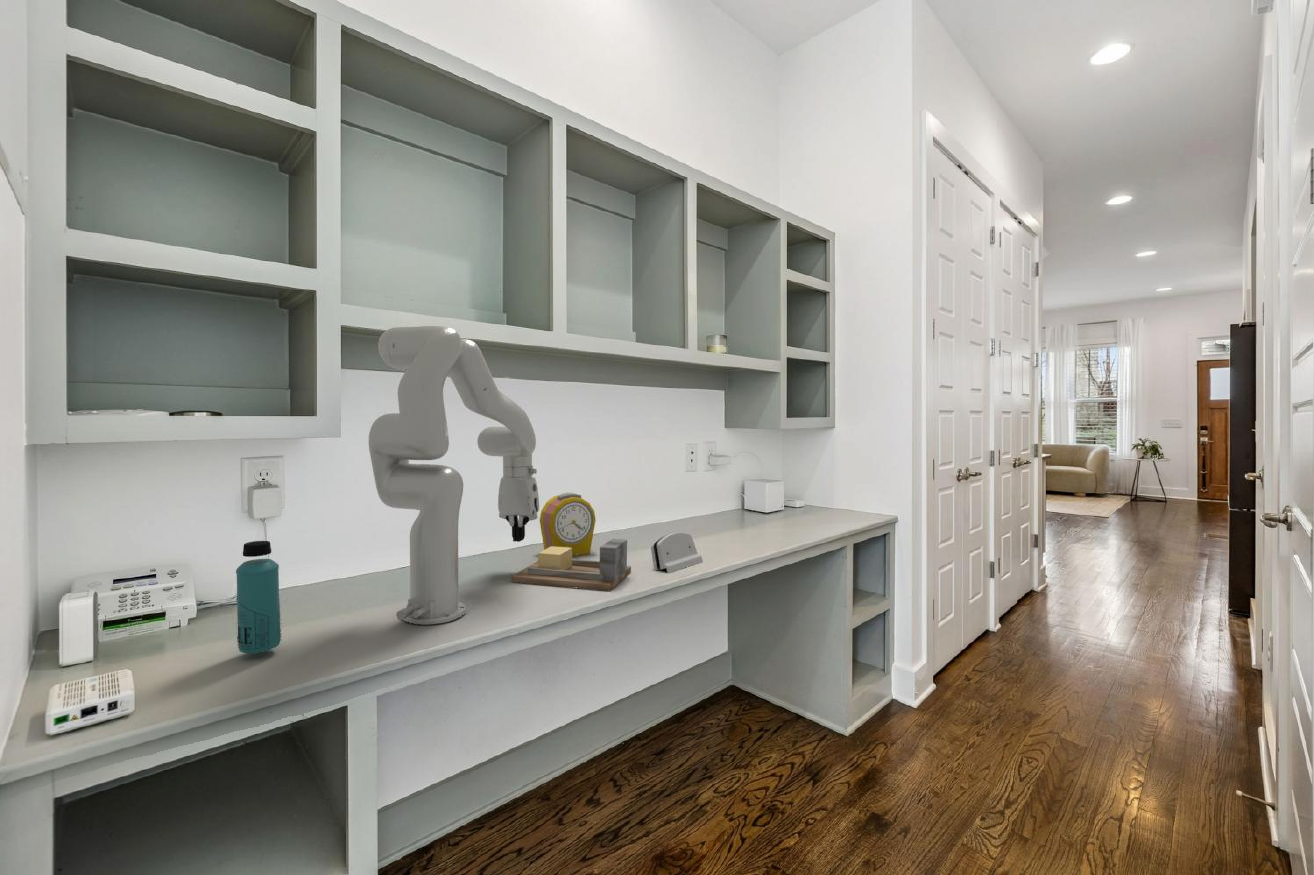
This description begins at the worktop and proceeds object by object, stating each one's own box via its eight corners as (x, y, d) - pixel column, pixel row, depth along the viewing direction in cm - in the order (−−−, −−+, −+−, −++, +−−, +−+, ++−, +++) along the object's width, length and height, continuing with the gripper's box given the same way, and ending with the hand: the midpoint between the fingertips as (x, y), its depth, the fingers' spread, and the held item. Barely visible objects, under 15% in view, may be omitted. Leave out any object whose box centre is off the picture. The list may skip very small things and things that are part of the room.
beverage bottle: (289, 647, 108) (287, 537, 107) (266, 662, 101) (264, 546, 100) (252, 647, 108) (250, 537, 107) (227, 662, 101) (225, 545, 100)
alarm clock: (550, 559, 173) (550, 496, 172) (539, 553, 180) (539, 492, 179) (596, 553, 181) (596, 492, 180) (584, 547, 188) (584, 489, 187)
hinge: (668, 573, 160) (658, 536, 161) (655, 576, 162) (646, 540, 164) (703, 561, 173) (694, 527, 174) (691, 564, 175) (682, 531, 177)
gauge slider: (559, 574, 152) (560, 554, 152) (538, 572, 153) (538, 553, 153) (578, 562, 164) (578, 544, 164) (557, 560, 166) (558, 542, 165)
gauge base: (609, 591, 144) (610, 552, 143) (511, 582, 150) (511, 544, 149) (630, 571, 161) (631, 536, 160) (541, 564, 167) (542, 530, 167)
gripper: (549, 471, 160) (550, 539, 161) (499, 469, 164) (500, 535, 165) (537, 475, 153) (538, 545, 154) (484, 473, 156) (486, 542, 158)
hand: (518, 540), depth 160 cm, fingers closed
